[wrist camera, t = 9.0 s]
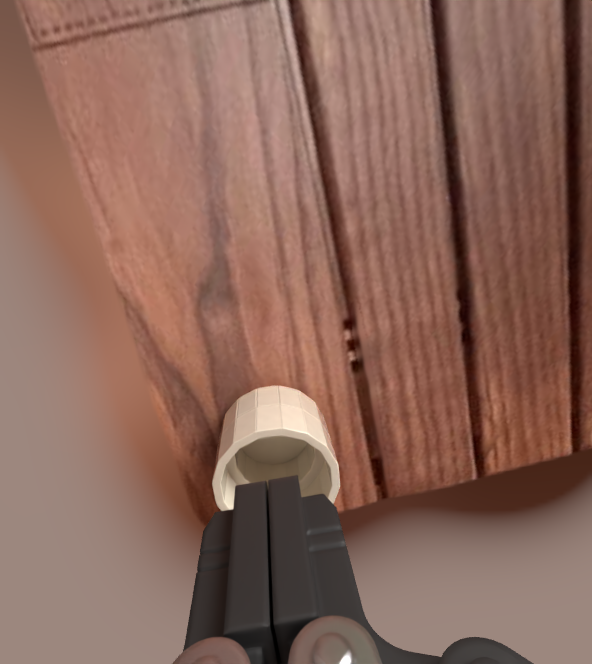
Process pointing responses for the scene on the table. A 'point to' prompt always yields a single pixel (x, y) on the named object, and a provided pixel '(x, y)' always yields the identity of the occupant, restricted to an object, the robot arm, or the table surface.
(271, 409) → the cream cup
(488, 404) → the table surface
